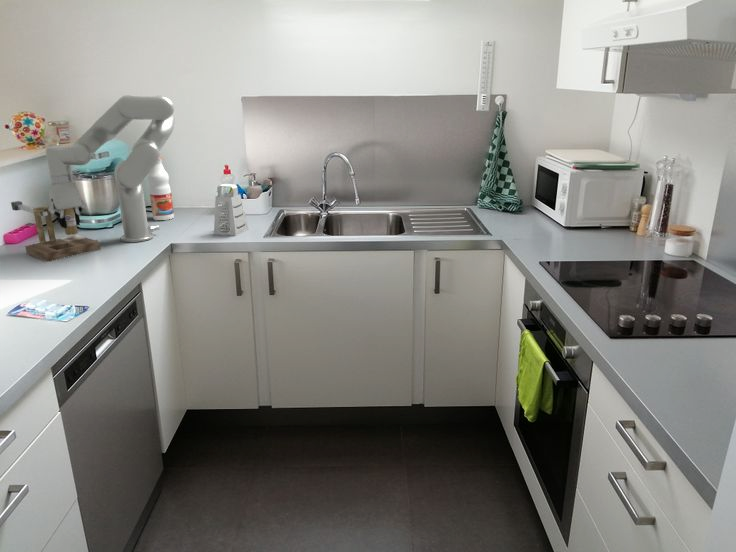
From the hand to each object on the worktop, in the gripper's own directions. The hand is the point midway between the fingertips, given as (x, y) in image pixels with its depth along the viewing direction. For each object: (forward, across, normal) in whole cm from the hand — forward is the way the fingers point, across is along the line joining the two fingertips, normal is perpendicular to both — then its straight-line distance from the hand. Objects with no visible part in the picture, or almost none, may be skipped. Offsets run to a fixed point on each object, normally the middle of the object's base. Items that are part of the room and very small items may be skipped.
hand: (70, 225), depth 230 cm
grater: (+8, -51, +34) cm, 62 cm away
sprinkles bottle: (+3, 0, 0) cm, 3 cm away
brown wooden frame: (+8, +6, +4) cm, 11 cm away
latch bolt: (-5, +8, -14) cm, 17 cm away
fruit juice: (+8, -48, -12) cm, 50 cm away
